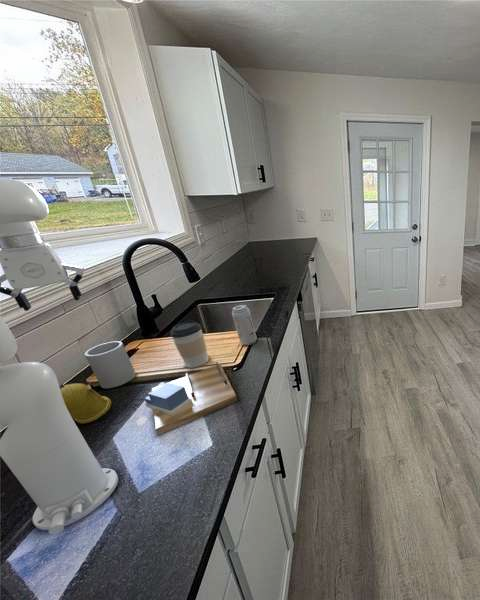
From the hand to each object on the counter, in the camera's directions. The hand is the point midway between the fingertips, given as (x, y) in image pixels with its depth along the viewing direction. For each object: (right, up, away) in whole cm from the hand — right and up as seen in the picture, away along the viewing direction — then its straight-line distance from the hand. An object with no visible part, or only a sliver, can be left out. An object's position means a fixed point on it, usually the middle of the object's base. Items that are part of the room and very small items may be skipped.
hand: (53, 303), depth 85 cm
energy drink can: (+35, -16, +37) cm, 54 cm away
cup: (+1, -26, +18) cm, 32 cm away
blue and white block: (+30, -28, +2) cm, 41 cm away
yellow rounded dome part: (+10, -32, +1) cm, 34 cm away
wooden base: (+34, -28, +7) cm, 44 cm away
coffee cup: (+23, -21, +26) cm, 40 cm away
